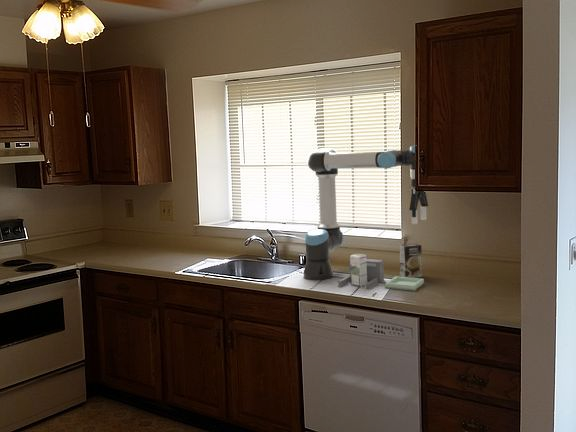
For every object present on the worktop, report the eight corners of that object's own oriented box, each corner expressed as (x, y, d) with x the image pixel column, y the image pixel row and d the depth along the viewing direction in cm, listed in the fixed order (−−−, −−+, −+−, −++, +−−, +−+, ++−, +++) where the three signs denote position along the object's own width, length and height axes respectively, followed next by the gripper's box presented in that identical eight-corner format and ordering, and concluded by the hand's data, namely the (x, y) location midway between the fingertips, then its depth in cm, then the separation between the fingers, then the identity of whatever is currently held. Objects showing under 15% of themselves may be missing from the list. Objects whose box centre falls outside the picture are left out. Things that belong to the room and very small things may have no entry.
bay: (337, 286, 289) (337, 265, 288) (353, 277, 305) (353, 258, 304) (369, 289, 281) (368, 268, 280) (383, 280, 297) (383, 260, 296)
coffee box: (405, 279, 298) (404, 246, 295) (399, 276, 304) (399, 244, 301) (422, 277, 300) (421, 245, 298) (416, 274, 306) (415, 242, 304)
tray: (385, 288, 282) (385, 283, 282) (395, 281, 294) (395, 276, 294) (414, 290, 275) (414, 285, 275) (423, 283, 287) (423, 278, 287)
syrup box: (367, 284, 291) (366, 254, 289) (360, 286, 287) (359, 256, 285) (358, 282, 295) (357, 253, 293) (350, 284, 291) (349, 255, 289)
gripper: (417, 180, 279) (418, 226, 281) (433, 175, 300) (434, 218, 303) (402, 180, 282) (403, 225, 285) (419, 175, 304) (419, 217, 306)
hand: (419, 221), depth 294 cm, fingers open, 13 cm apart
